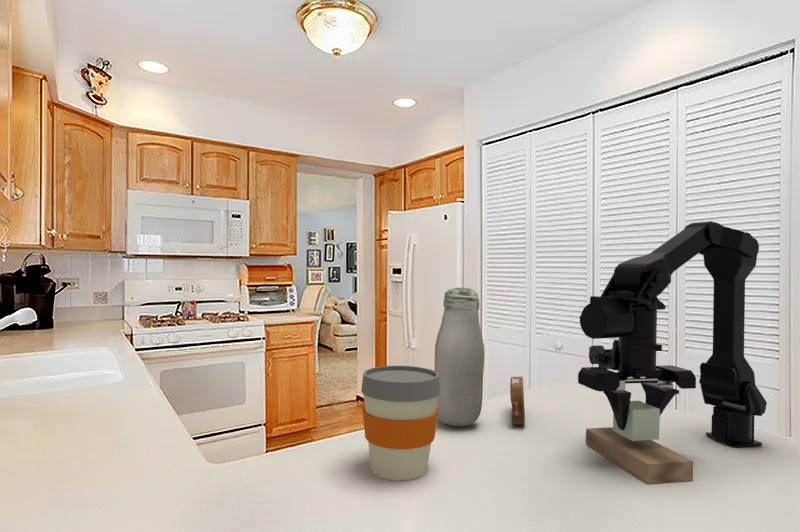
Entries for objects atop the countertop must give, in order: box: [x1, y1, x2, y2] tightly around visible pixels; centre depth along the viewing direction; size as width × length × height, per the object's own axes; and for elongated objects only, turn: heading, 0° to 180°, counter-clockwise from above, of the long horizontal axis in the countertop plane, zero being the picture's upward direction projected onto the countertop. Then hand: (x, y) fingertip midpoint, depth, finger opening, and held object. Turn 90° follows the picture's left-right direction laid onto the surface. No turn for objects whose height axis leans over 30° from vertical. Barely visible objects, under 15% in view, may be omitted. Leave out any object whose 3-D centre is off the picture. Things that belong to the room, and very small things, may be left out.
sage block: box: [612, 400, 661, 441], centre depth 80 cm, size 5×5×5 cm
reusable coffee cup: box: [360, 365, 440, 482], centre depth 75 cm, size 12×12×15 cm
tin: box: [509, 376, 526, 427], centre depth 102 cm, size 15×3×8 cm, turn 165°
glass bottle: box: [433, 287, 486, 428], centre depth 97 cm, size 10×10×28 cm
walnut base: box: [585, 426, 694, 485], centre depth 80 cm, size 8×16×3 cm, turn 11°
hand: (635, 428), depth 80 cm, fingers closed on sage block, 5 cm apart
